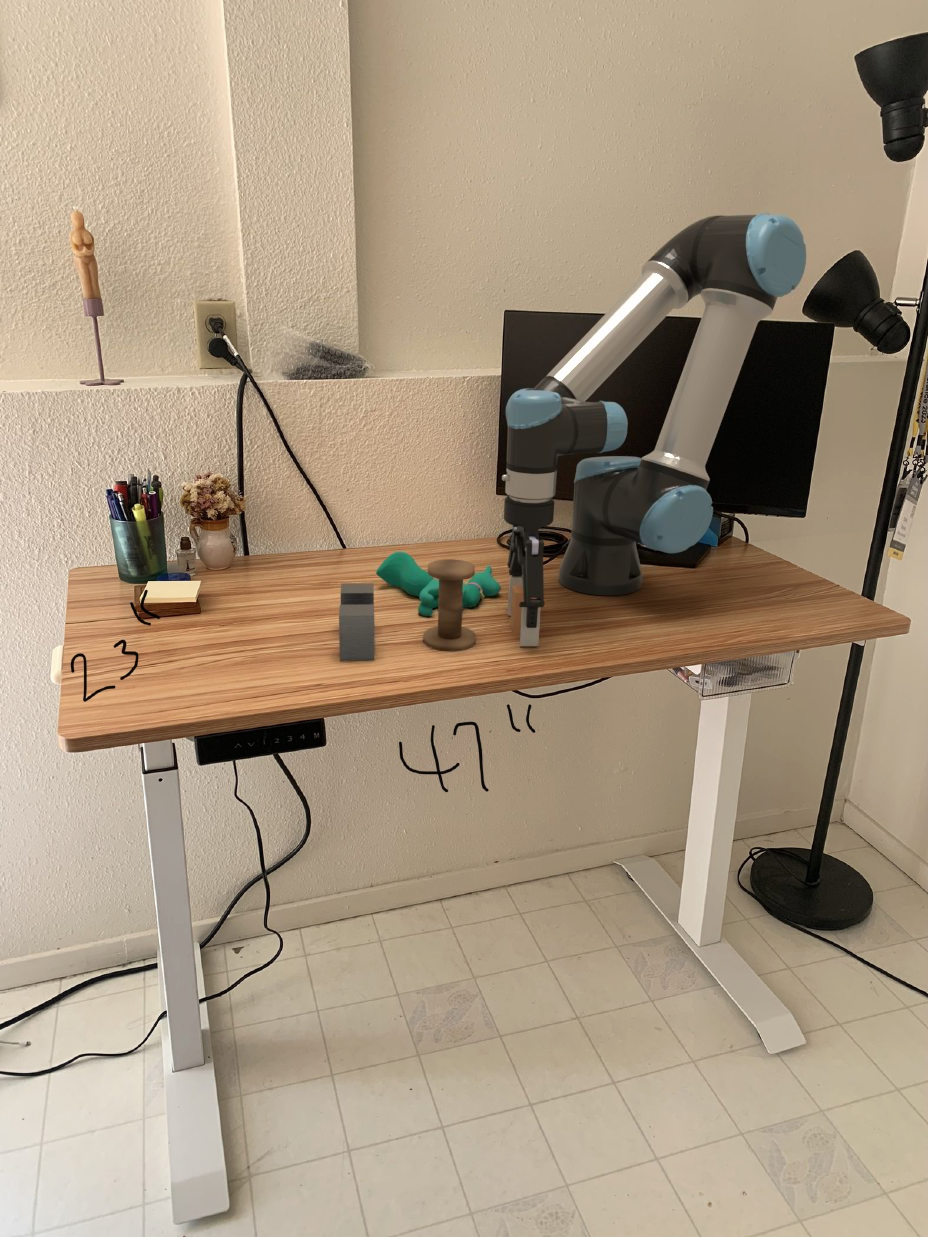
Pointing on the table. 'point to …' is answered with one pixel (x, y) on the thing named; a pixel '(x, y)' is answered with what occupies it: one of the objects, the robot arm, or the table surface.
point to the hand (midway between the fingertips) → (522, 629)
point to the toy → (432, 582)
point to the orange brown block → (516, 608)
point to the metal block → (357, 622)
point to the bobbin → (450, 606)
